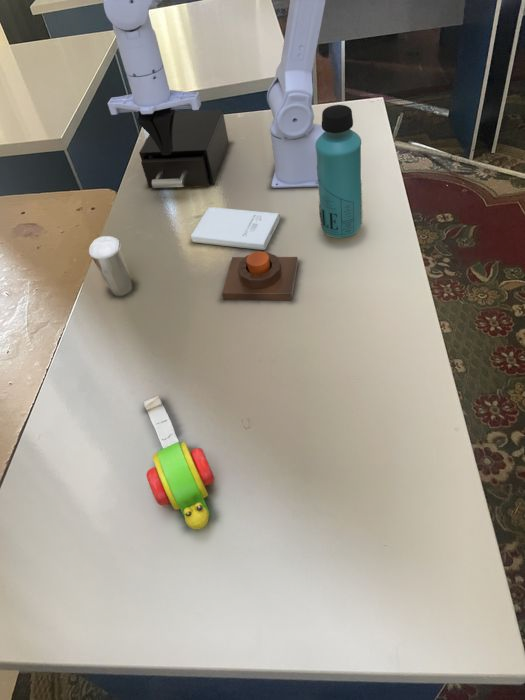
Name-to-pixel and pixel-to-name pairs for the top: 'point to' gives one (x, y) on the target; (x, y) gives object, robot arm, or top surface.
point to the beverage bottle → (339, 173)
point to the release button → (258, 262)
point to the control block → (261, 280)
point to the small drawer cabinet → (196, 139)
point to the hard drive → (236, 228)
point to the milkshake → (111, 264)
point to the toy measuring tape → (178, 470)
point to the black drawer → (175, 171)
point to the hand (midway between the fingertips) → (167, 152)
